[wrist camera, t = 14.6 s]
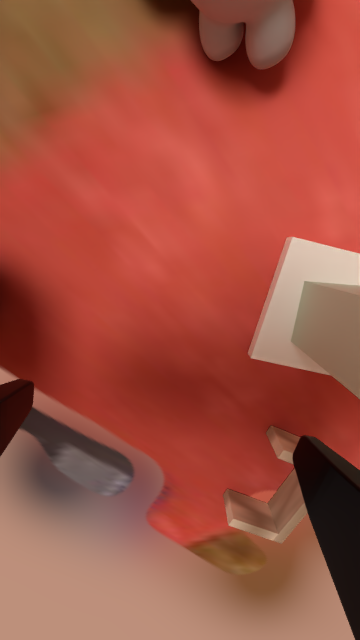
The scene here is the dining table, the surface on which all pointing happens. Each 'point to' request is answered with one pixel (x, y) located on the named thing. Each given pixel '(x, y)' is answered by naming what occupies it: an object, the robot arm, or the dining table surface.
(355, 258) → the ceramic tile
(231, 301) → the dining table surface
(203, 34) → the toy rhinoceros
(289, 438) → the birch stall
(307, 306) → the sage block
